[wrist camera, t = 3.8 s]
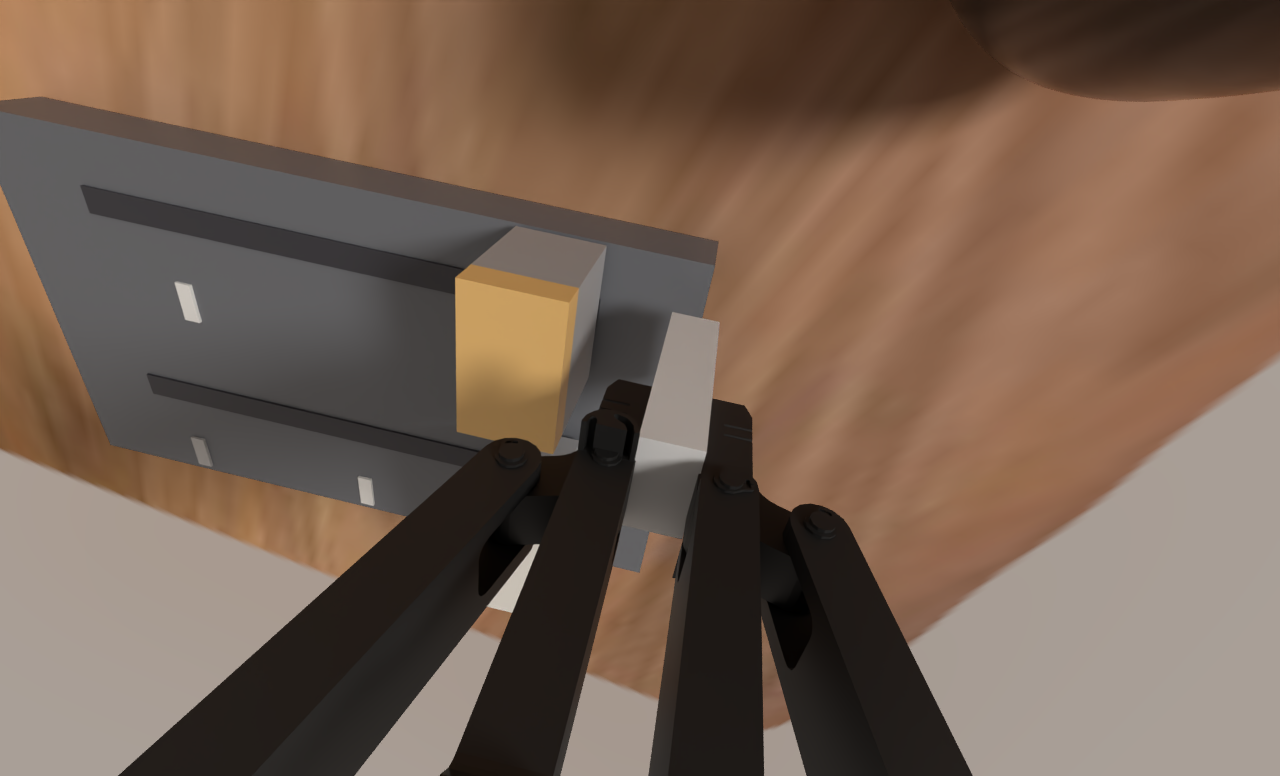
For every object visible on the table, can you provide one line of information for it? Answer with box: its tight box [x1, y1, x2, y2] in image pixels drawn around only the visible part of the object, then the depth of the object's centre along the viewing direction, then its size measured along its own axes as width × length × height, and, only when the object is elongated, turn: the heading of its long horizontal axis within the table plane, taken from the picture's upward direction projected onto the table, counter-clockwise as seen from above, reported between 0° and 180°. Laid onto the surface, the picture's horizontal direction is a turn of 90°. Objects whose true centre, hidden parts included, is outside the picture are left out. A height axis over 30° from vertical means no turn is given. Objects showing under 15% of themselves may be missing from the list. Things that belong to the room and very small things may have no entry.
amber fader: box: [455, 226, 607, 454], centre depth 18 cm, size 5×3×5 cm, turn 170°
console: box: [0, 97, 718, 572], centre depth 24 cm, size 15×26×3 cm, turn 80°
